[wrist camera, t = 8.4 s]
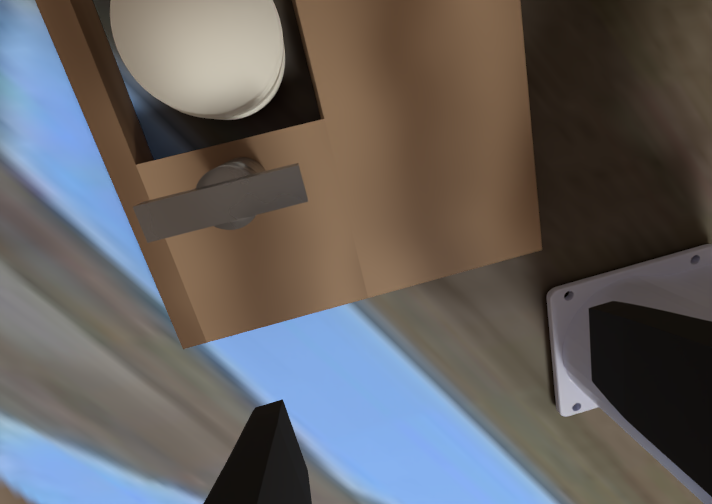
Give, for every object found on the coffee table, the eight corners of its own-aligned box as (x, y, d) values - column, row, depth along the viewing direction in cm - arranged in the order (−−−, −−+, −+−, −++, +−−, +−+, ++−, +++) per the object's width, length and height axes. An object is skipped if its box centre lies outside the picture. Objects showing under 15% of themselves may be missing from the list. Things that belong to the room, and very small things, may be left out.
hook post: (294, 143, 15) (294, 150, 11) (307, 190, 16) (312, 215, 11) (177, 172, 15) (126, 191, 10) (195, 218, 15) (153, 256, 11)
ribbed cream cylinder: (265, -22, 15) (251, -89, 11) (299, 104, 17) (301, 95, 12) (143, 7, 15) (74, -48, 10) (190, 133, 16) (148, 135, 12)
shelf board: (482, -106, 15) (508, -138, 14) (518, 238, 20) (542, 249, 18) (56, -15, 14) (19, -37, 13) (194, 326, 19) (183, 349, 17)
